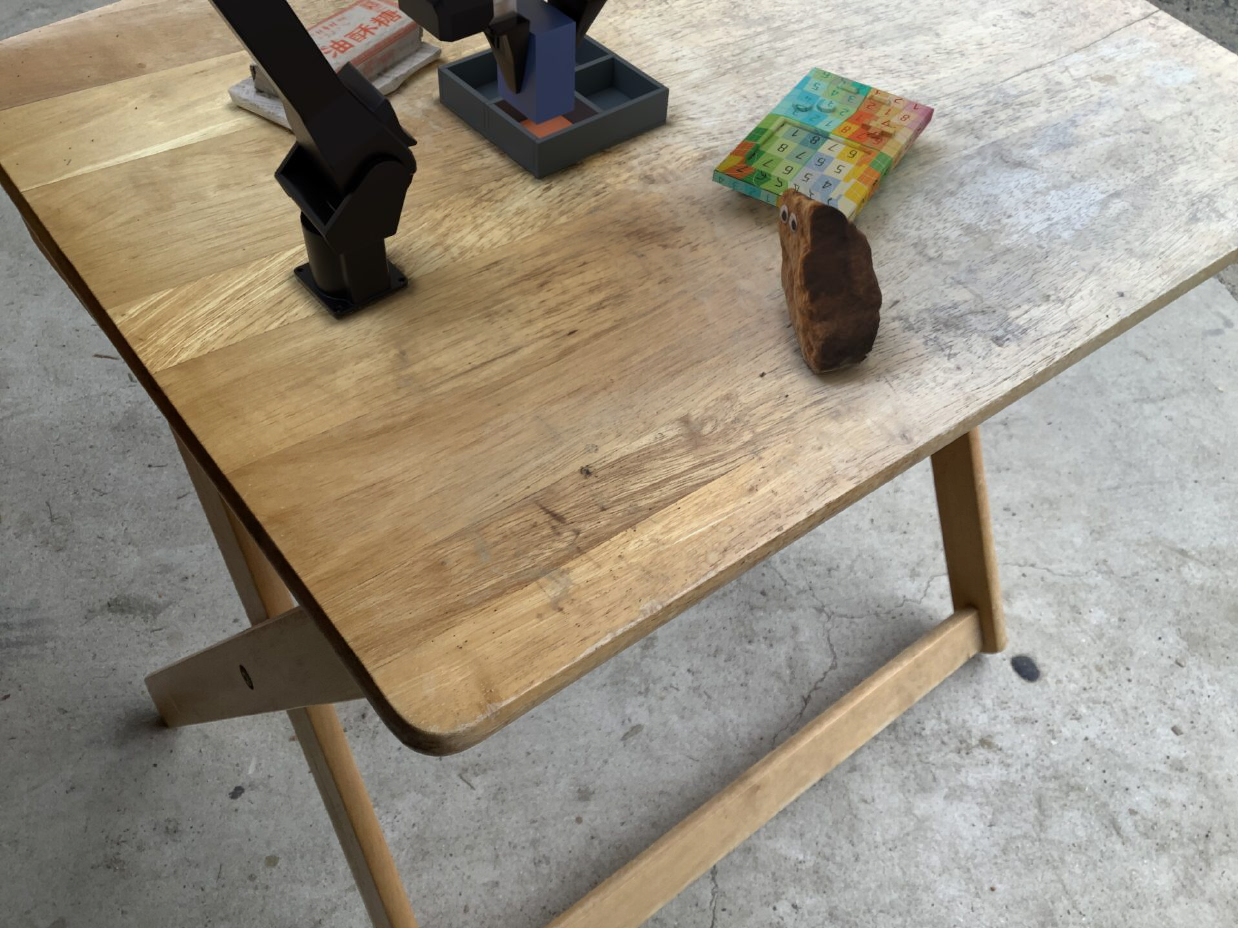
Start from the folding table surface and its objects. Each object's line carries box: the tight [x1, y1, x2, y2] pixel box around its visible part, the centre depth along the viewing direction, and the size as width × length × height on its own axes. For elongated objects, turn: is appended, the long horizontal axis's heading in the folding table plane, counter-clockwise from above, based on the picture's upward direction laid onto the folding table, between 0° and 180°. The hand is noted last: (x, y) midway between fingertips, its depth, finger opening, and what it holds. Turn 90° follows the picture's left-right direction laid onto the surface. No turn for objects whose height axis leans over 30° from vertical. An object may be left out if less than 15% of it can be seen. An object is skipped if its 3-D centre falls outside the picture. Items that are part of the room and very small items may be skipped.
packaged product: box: [227, 0, 443, 131], centre depth 100 cm, size 18×5×10 cm
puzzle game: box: [711, 67, 935, 222], centre depth 94 cm, size 12×5×20 cm
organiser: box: [437, 33, 670, 180], centre depth 99 cm, size 15×15×4 cm
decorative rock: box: [777, 188, 883, 375], centre depth 79 cm, size 12×6×11 cm, turn 11°
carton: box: [497, 0, 576, 125], centre depth 80 cm, size 5×4×7 cm
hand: (535, 83), depth 81 cm, fingers closed on carton, 3 cm apart
